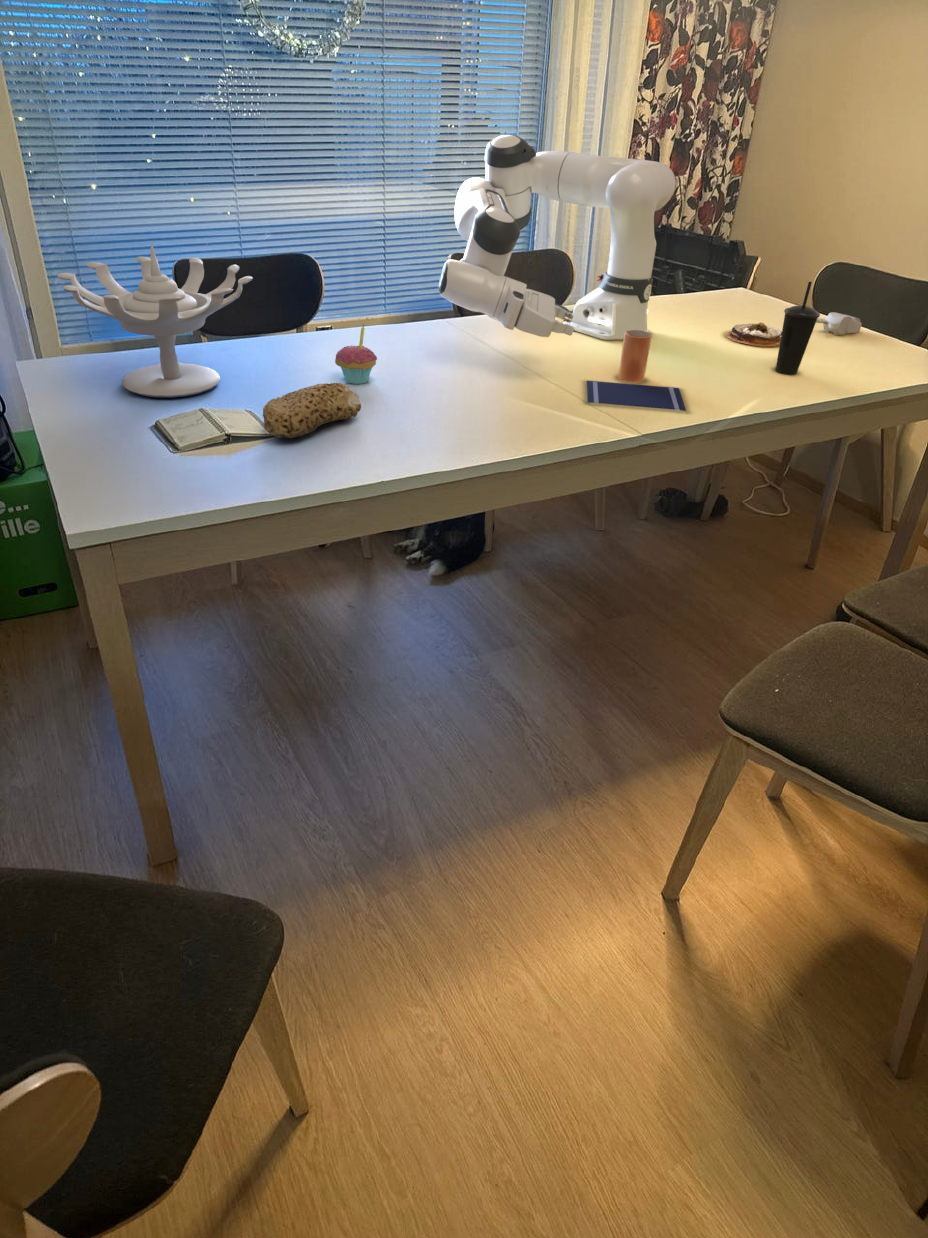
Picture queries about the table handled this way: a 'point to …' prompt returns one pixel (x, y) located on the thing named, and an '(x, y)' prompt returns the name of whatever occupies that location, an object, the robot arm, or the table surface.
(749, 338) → the round cake
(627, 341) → the tumbler
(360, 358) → the cupcake
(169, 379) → the candelabra
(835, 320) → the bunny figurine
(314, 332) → the table surface
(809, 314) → the drinking cup
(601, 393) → the cloth
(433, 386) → the table surface
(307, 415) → the sponge
